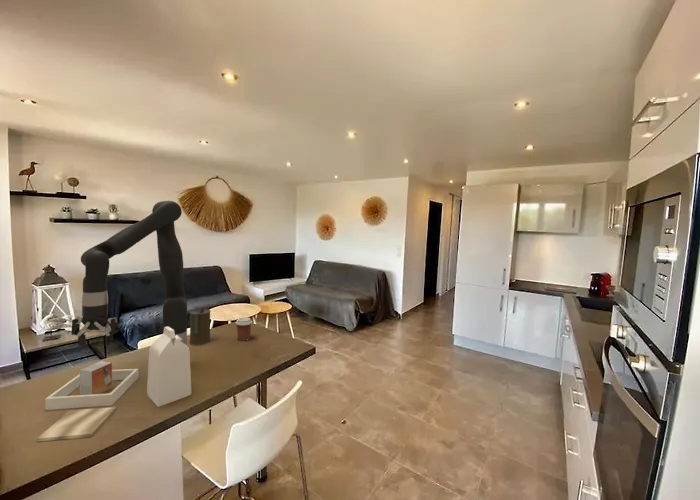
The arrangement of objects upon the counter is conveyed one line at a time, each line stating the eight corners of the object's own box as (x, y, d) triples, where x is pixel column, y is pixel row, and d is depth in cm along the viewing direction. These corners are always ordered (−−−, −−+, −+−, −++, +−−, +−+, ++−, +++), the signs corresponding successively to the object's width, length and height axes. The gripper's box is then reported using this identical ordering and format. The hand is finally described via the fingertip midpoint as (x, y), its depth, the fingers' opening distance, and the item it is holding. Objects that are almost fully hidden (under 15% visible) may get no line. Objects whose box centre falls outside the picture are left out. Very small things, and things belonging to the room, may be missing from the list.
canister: (194, 338, 174) (194, 304, 172) (212, 338, 175) (213, 304, 173) (185, 345, 163) (186, 309, 161) (206, 345, 164) (206, 309, 162)
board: (116, 409, 106) (116, 406, 106) (91, 436, 92) (91, 433, 92) (69, 413, 103) (69, 410, 103) (36, 441, 89) (36, 438, 89)
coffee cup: (242, 343, 169) (242, 322, 168) (231, 339, 174) (232, 319, 173) (255, 338, 177) (255, 318, 176) (245, 335, 182) (245, 315, 181)
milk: (146, 394, 116) (146, 328, 114) (179, 383, 125) (179, 321, 123) (158, 407, 108) (157, 336, 107) (191, 394, 117) (191, 329, 115)
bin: (138, 377, 128) (138, 368, 127) (111, 405, 108) (111, 394, 108) (83, 380, 124) (83, 371, 123) (45, 410, 104) (45, 398, 104)
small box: (91, 399, 111) (91, 371, 111) (79, 397, 113) (78, 369, 112) (112, 388, 119) (112, 362, 119) (101, 386, 120) (100, 360, 120)
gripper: (122, 300, 119) (122, 340, 120) (80, 300, 116) (80, 341, 117) (111, 305, 111) (111, 348, 112) (66, 305, 108) (66, 349, 110)
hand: (95, 344), depth 115 cm, fingers open, 8 cm apart
